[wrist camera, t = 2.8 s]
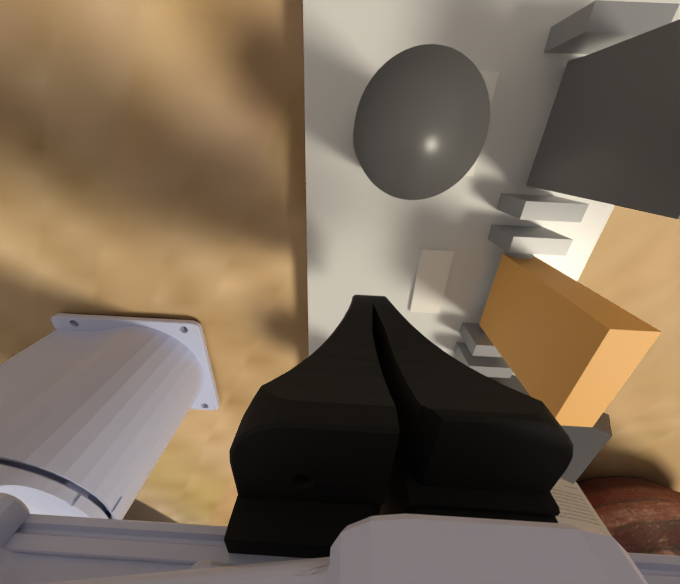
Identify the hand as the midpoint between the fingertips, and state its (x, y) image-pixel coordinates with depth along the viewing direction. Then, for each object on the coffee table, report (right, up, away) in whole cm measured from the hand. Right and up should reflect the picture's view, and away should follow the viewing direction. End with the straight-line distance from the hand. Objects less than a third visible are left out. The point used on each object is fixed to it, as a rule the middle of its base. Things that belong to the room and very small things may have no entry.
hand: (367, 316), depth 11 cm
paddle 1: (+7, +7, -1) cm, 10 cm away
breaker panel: (+4, +2, +4) cm, 6 cm away
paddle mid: (+7, +1, +2) cm, 8 cm away
